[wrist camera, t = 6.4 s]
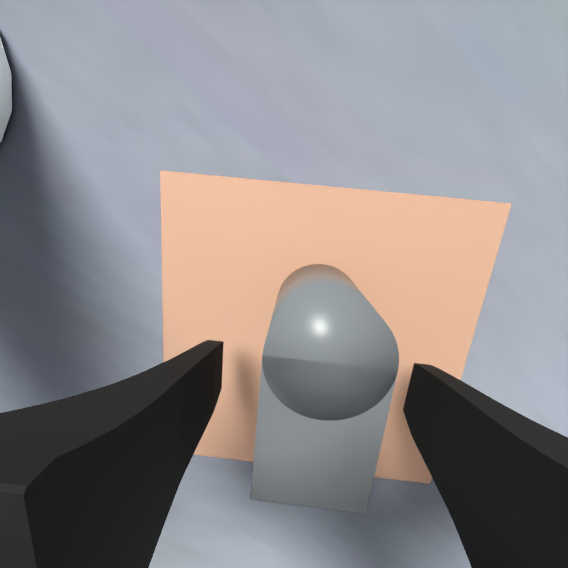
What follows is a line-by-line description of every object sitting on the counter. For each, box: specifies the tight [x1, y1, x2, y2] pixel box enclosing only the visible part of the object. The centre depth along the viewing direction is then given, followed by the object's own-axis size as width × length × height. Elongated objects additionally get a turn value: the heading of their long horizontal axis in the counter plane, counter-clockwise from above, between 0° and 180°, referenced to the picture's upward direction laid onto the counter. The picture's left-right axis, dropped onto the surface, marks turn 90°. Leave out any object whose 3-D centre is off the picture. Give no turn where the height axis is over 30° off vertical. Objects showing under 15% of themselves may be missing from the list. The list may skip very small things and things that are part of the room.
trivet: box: [160, 171, 511, 484], centre depth 13 cm, size 14×14×1 cm
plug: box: [250, 264, 399, 514], centre depth 10 cm, size 4×9×5 cm, turn 175°
